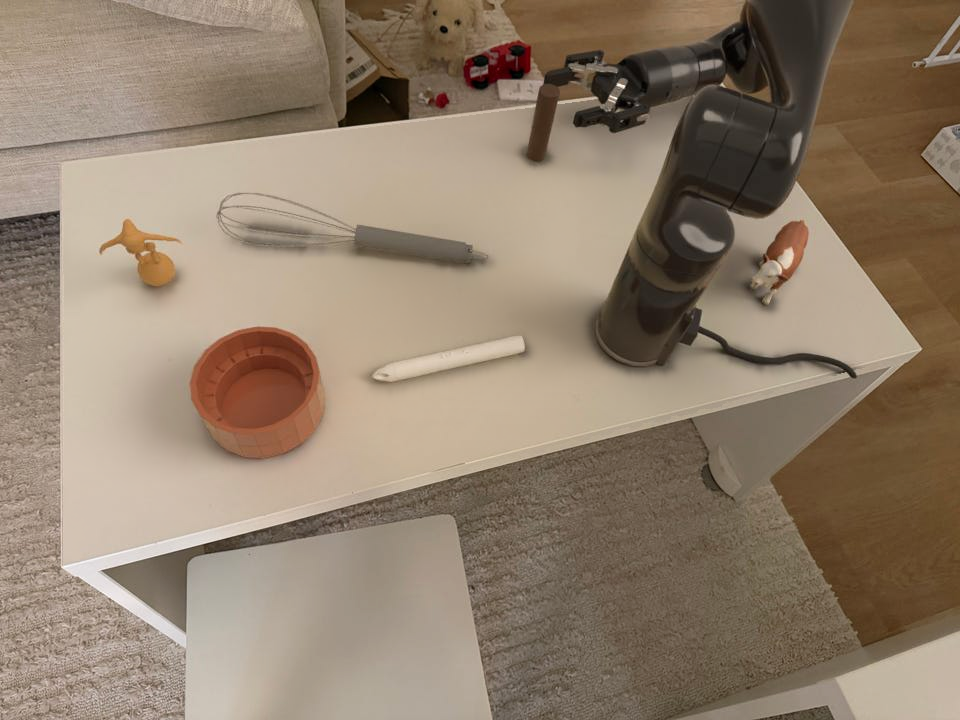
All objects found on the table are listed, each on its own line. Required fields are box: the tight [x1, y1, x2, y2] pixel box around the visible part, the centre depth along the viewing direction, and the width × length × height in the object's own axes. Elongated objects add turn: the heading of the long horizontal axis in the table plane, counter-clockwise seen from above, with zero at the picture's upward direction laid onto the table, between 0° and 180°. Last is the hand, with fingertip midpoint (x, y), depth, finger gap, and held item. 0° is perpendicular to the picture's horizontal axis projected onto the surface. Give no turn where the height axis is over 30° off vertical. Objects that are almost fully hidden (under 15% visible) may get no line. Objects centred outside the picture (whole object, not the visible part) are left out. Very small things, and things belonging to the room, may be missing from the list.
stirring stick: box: [526, 83, 561, 163], centre depth 93 cm, size 3×3×11 cm
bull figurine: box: [748, 219, 809, 306], centre depth 85 cm, size 4×13×8 cm, turn 143°
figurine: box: [98, 218, 183, 287], centre depth 74 cm, size 8×6×12 cm
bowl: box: [189, 325, 326, 459], centre depth 69 cm, size 12×12×6 cm
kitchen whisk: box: [215, 192, 489, 264], centre depth 82 cm, size 6×34×6 cm, turn 86°
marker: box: [371, 335, 526, 383], centre depth 76 cm, size 18×2×2 cm, turn 108°
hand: (559, 100), depth 90 cm, fingers open, 8 cm apart
